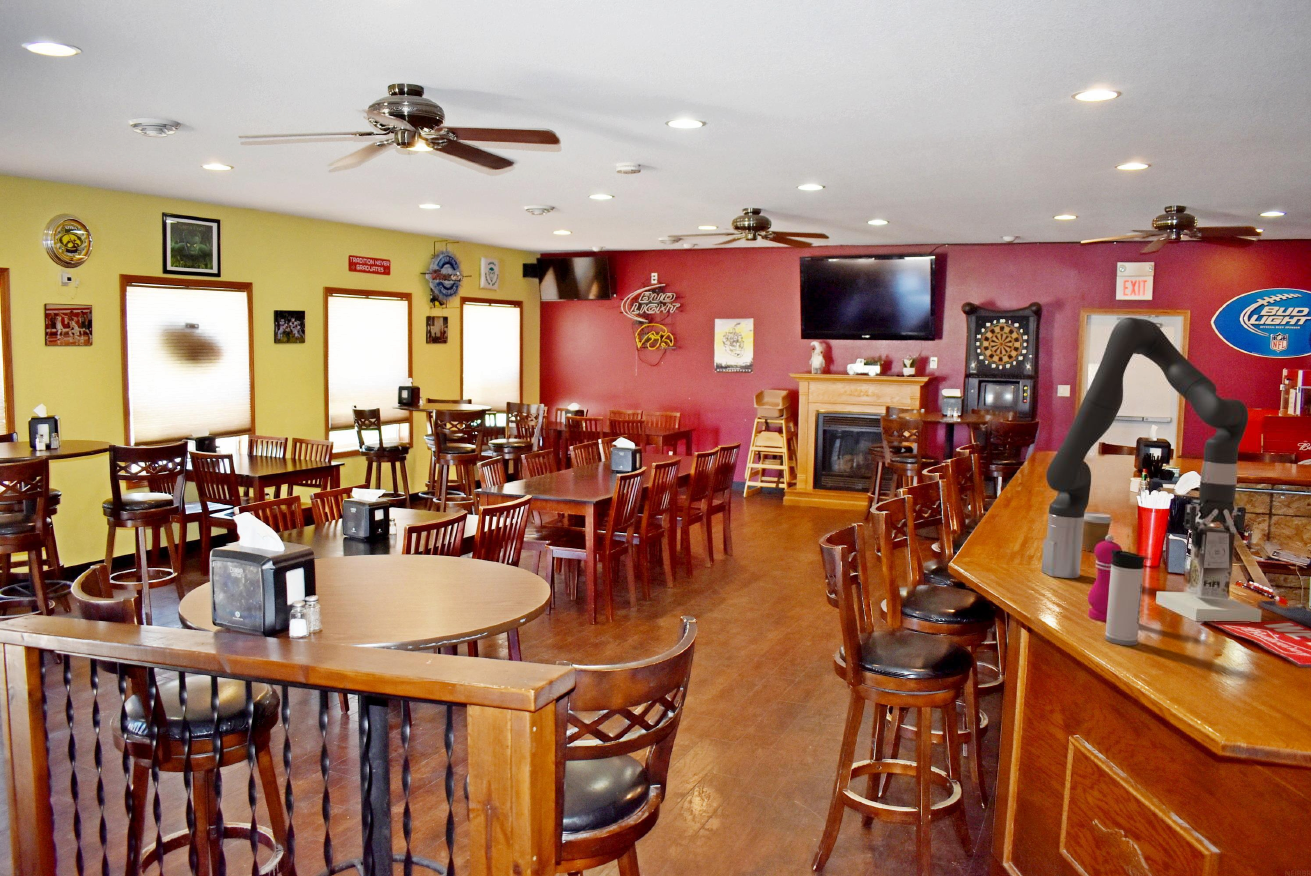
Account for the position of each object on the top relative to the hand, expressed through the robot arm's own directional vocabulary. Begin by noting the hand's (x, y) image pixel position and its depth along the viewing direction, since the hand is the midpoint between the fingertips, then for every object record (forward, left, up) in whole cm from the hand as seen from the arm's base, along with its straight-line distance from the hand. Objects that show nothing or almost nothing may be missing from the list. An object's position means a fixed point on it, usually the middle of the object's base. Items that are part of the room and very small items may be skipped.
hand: (1211, 547), depth 226 cm
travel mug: (-36, -25, -16) cm, 47 cm away
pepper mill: (-30, -7, -16) cm, 35 cm away
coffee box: (0, 0, -12) cm, 12 cm away
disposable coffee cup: (+10, +72, -16) cm, 74 cm away
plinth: (0, 0, -16) cm, 16 cm away
